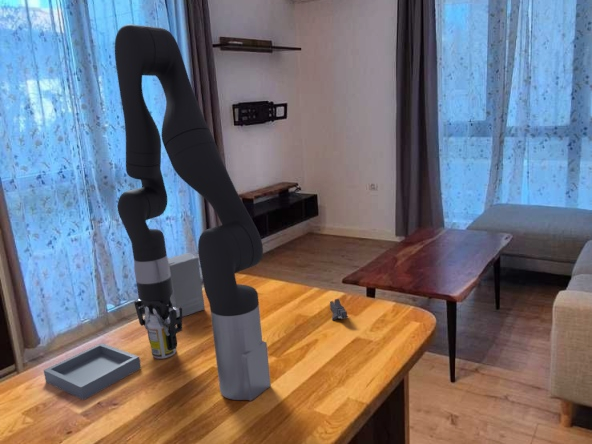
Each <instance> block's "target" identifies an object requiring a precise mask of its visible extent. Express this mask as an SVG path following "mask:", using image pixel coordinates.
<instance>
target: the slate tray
mask: <svg viewBox="0 0 592 444" xmlns="http://www.w3.org/2000/svg"><path fill="white" fill-rule="evenodd" d="M141 369H142V367H141V359H140V356H139V355H136V354H133V353H130V352H128V351H125V350H122V349H119V348H116V347H114V346H111V345H109V344H106V343H103V342H100V343H98V344H96V345H94V346H92V347H90V348H87V349H85V350H84V351H83V350H82V352H79V353H77V354H75V355H73V356H70V357H69V358H66V359H64V360H62V361H60V362H58V363H55V364H53V365H51V366H50V367H47V368H45V369H43V375H44V379H45V382H46V384H47V383H48V384H49V385H52V386H53V387H55V388H58V389H59V390H61V391H63V392H65V393H68V394H70V395H72V396H73V397H75V398H78V399H80V400H82V401H85V400H86V399H88V398H90V397H92V396H93V395H95V394H97V393H99V392H101V391H103V390H104V389H106V388H108V387H110V386H112V385H114V384H115V383H117V382H119V381H120V380H122V379H125V378H126V377H127V376H130V375H131V374H133V373H135V372H137V371H138V370H141Z"/></svg>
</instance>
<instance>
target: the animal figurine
mask: <svg viewBox="0 0 592 444" xmlns="http://www.w3.org/2000/svg"><path fill="white" fill-rule="evenodd" d="M329 307H330V308H329V309H330V310H331V312H332V317H331V320H332V321H335V320H338V319H341V320H342V319H348V318H349V316H348V312H347V310H346V309H345V307H344V306H343V305H342V304H341V301H340V298H337V299H334V301H333V300H331V301H329Z"/></svg>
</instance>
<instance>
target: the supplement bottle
mask: <svg viewBox="0 0 592 444" xmlns="http://www.w3.org/2000/svg"><path fill="white" fill-rule="evenodd" d="M168 320H169V317H168V318H167V319H165V320H163V321H164V322H166V321H168ZM147 326H148V331H147V333H148V332H149V338H148V340H149V339H150V342H149V345H150V349H151V355H152V357H153V358H154V359H159V360H162V359H168V358H170V357H172V356H174V355H175V354H176V353H177V347H176V348H175V349H173V350H171V351H170V350H168V349H167V342H166V334H165V331H164V329H163V327H161V326H160V325H159V322H158V320H157V317H156V316H155V315H154V314H150V321H149V322H148V325H147ZM168 328H169V329H170V324H168Z"/></svg>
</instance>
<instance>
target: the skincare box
mask: <svg viewBox="0 0 592 444" xmlns="http://www.w3.org/2000/svg"><path fill="white" fill-rule="evenodd" d="M167 258H168V262H169V267H170V274H171V281H172V289H173V293H172V295H171V297H170V300H171V303H172V306H173V307H175V308H178V307H181V308H182V318H183V317H186V316H189V315H192V314H195V313H198V312H200V311H203V310H206V309H205V301H204V294H203V285H202V284H203V283H202V279H201V269H200V260H199V257H198V256H196V255H194V254H192V253H191V252H186V253H182V254H179V255H174V256H171V257H167Z"/></svg>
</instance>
